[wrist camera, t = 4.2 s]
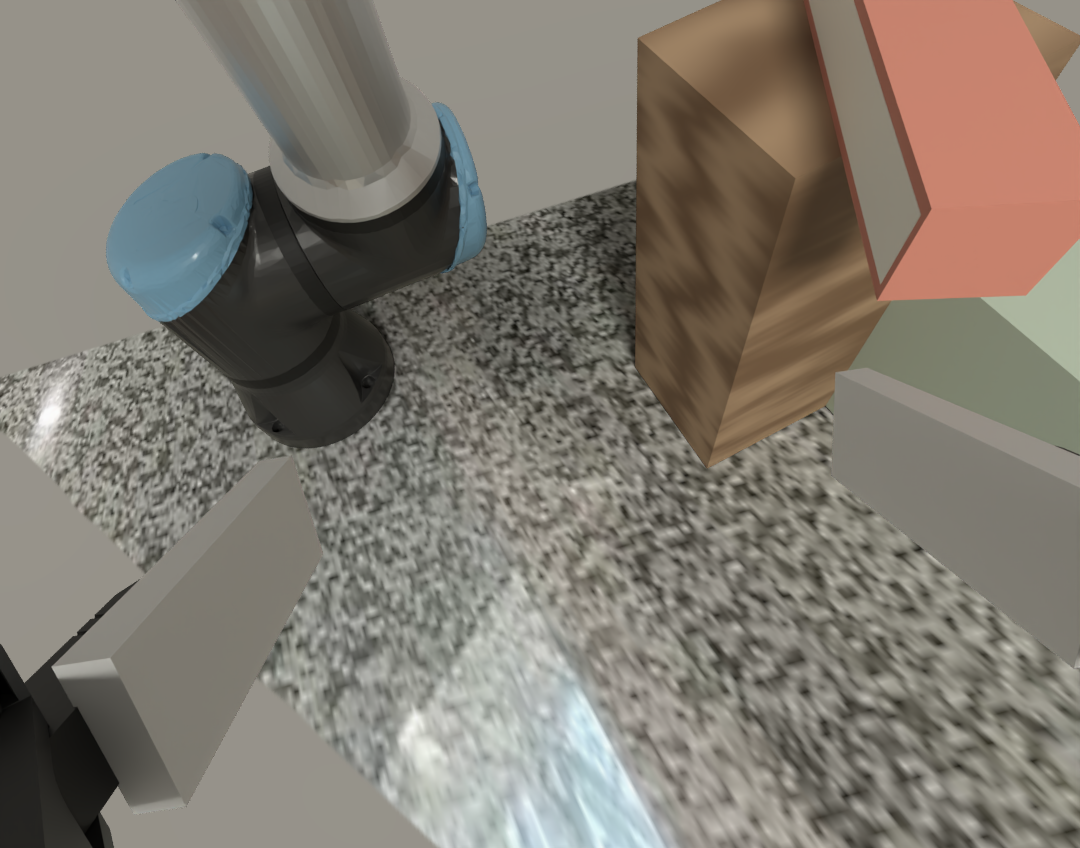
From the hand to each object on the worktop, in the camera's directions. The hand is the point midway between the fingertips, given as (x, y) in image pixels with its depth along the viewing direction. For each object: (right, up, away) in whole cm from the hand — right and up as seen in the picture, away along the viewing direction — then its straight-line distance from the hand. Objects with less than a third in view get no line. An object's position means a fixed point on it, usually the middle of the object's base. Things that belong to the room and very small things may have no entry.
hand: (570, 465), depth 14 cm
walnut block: (+17, +5, +38) cm, 42 cm away
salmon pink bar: (+14, +15, +10) cm, 23 cm away
